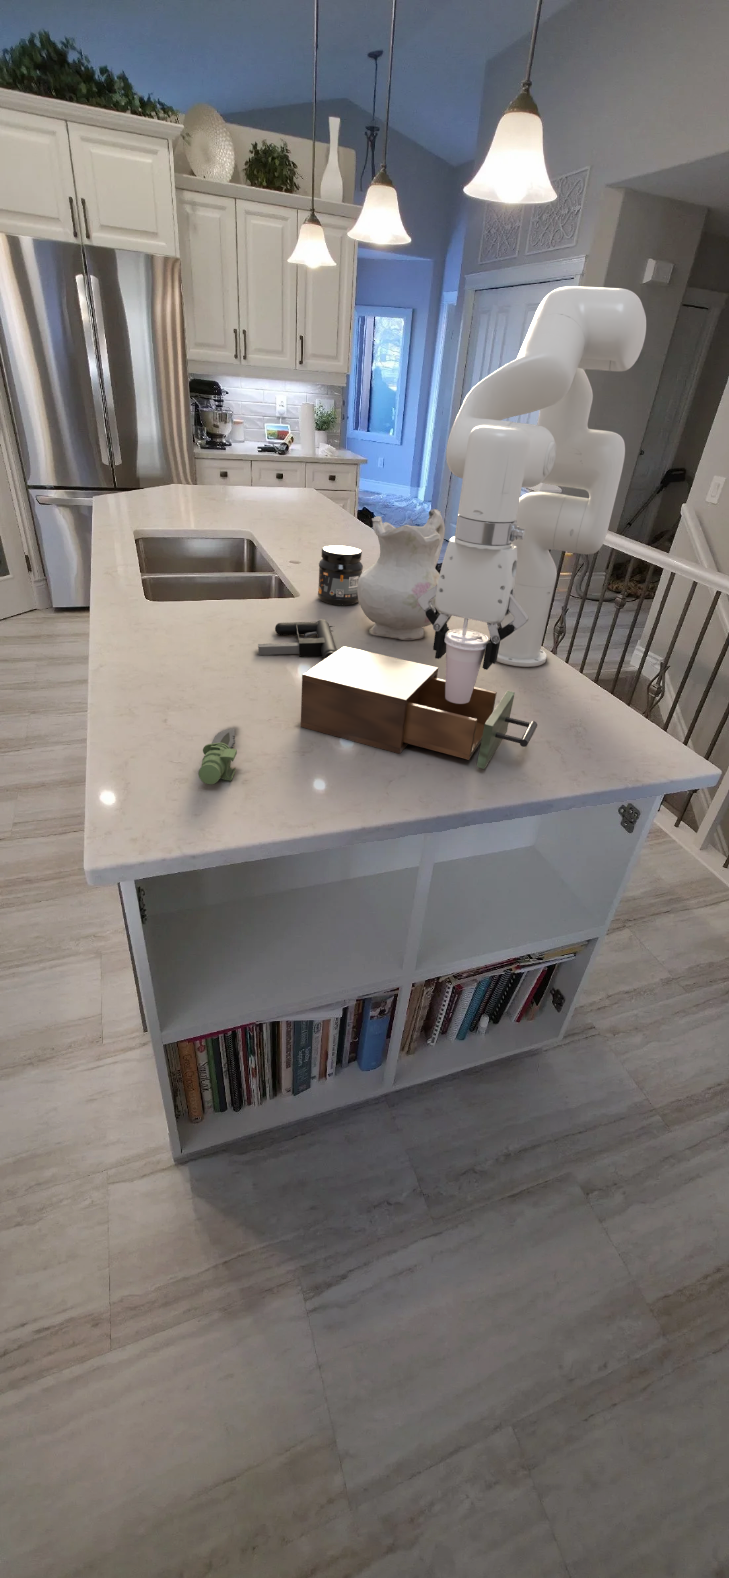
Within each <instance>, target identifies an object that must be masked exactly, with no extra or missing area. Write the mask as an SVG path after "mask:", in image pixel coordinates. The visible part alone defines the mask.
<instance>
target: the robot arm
mask: <svg viewBox="0 0 729 1578" xmlns="http://www.w3.org/2000/svg"><path fill="white" fill-rule="evenodd" d="M646 316H647V315H646V311H645V309H644V306H643V303H642V300H641V299H640V297H639V296H638V295H637V294H636V293H635V292H634V291H632V290H630V289H627V288H623V287H622V288H621V287H600V286H583V285H581V286H579V285H570V286H569V285H567V286H562V287H557V288H555V289H554V290H552V291H550V292H549V293H548V294H546V295H545V296H544V298H543V299H542V300H541V302H540V304H539V305H538V307H537V309H536V311H535V314H534V316H533V318H532V321H531V324H530V326H529V328H528V331H527V333H526V336H525V338H524V340H523V343H522V345H521V347H520V350H519V352H518V354H517V356H516V359H513V360H511V361H510V362H508V363H505V364H504V365H503V366H501V367H499V368H498V369H497V370H494V371H493V372H492V373H490V374H488V375H487V376H486V377H484V378H483V379H481V380H480V381H479V382H478V383H477V384H476V385H474V386H473V387H472V388H471V389H470V391H469V392H468V393H467V394H466V396H465V398H464V400H463V402H462V405H460V409H459V411H458V413H457V415H456V417H455V418H454V419H455V420H454V422H453V425H452V427H451V429H450V433H449V436H448V439H447V443H446V451H445V457H446V465H447V467H448V470H449V472H451V473H452V475H454V476H455V477H457V478H460V479H462V480H461V481H462V482H461V488H460V495H459V496H460V497H459V505H458V509H457V510H458V511H457V517H456V524H455V531H454V535H453V536H452V537H451V538H449V541H448V543H447V546H446V549H445V553H444V556H443V560H442V563H441V567H440V571H439V574H440V576H439V580H438V584H437V585H436V586H435V587H433V588H432V589H430V590H429V591H427V592H426V593H425V594H423V595H422V596H420V597H419V598H418V603H419V605H420V606H421V608H422V609H423V611H425V613H426V616H427V618H428V619H429V621H430V622H431V624H430V625H432V629H433V631H434V638H433V645H432V646H433V647H432V650H433V651H435V655H434V658H435V659H437V660H440V659H442V658H443V657H444V656H445V655H446V643H445V641H444V639H445V634H446V632H448V631H450V628H449V626H448V623H449V621H450V619H451V618H452V617H457V618H461V619H464V618H466V619H468V620H472V621H476V622H481V623H486V626H487V628H488V632H489V641H488V642H487V644H486V649H485V652H484V656H483V660H482V667H481V668H482V669H483V670H485V671H487V670H489V669H490V668H491V666H492V665H493V664H496V662H497V663H501V664H503V665H506V666H507V665H508V666H512V667H520V668H531V667H532V668H533V667H538V666H541V665H544V664H545V663H546V662H547V657H548V654H547V653H546V652H545V651H544V649H542V644H543V640H544V636H545V631H546V626H547V621H548V617H549V613H550V609H551V605H552V604H551V603H552V601H553V600H552V599H553V595H554V591H555V586H556V581H557V577H558V576H557V575H558V572H557V571H558V570H557V566H556V563H555V561H554V559H553V556H552V554H551V552H550V550H552V551H555V550H556V551H560V552H567V553H573V554H580V555H593V554H595V553H597V552H598V551H600V550H601V548H602V547H603V545H604V543H605V540H606V537H607V534H608V530H609V527H610V522H611V518H612V514H613V510H614V506H615V502H616V497H617V494H618V489H619V485H620V482H621V477H622V472H623V468H624V463H625V457H626V444H625V440H624V438H623V436H622V435H620V434H619V433H617V432H615V431H611V430H604V429H603V430H602V429H593V428H589V426H588V424H589V418H590V414H591V413H590V412H591V409H592V404H593V399H594V393H593V389H592V386H591V383H590V380H589V377H588V375H587V373H586V371H585V370H593V371H605V372H606V371H607V372H626V371H628V370H630V369H631V368H632V367H633V366H634V365H635V363H636V362H637V361H638V359H639V357H640V355H641V353H642V350H643V348H644V343H645V340H646V335H647V334H646V333H647V317H646ZM534 412H538V418H537V422H536V424H534V423H527V422H526V423H525V422H516V421H510V420H505V419H509V418H514V417H519V416H522V415H526V414H531V413H534ZM540 484H545V485H550V486H556V487H564V488H569V489H570V488H571V489H578V490H584V491H586V492H587V493H588V497H581V496H574V495H568V494H563V493H556V492H548V491H532V492H527V493H525V494H523V495H522V496H521V494H522V488H533V487H537V486H538V485H540ZM435 596H436V597H435ZM434 597H435V607H436V608H435V607H434V606H433V604H432V602H431V600H432V599H433V598H434ZM438 611H440V612H441V614H440V613H439V612H438Z"/></svg>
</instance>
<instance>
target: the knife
mask: <svg viewBox="0 0 729 1578" xmlns="http://www.w3.org/2000/svg"><path fill="white" fill-rule="evenodd" d="M235 735H236V729H235V728H227V729H223V730H222V731H219V732H218V733H216V734H215V736H214V737H213V739H212V741H211V743H207V744H205V745H204V747H203V748H202V753H203V755H204V757H202V760H201V765H200V769H199V770H198V777H199V780H200V781H201V782H202V783H204V784H205V785H214V784H217V783H218V782H219V780H220V779H221V780H224V781H231V782H232V780H233V778H234V776H235V774H236V767H234V768H232V767H231V762H233V763H234V761H235V758H236V757H237V754H238V749H236V748H234V746H235V744H236V738H235Z"/></svg>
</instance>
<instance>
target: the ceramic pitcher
mask: <svg viewBox="0 0 729 1578" xmlns="http://www.w3.org/2000/svg"><path fill="white" fill-rule="evenodd" d="M441 513H442V511H440V509H438V508H431V509H430V510H429V511H428V519H427V521H426V523H425V524H424V525H423V526H416V525H415V526H414V525H410V524H405V525H401V526H399V527H395V526H394V525H392V524H391V523H389V522H387V521H385V522H383V518H382V516H380V515H379V516H375V517H373V518H371V521H372V528H373V532H374V533H375V535H376V537H377V539H378V544H379V557H378V559H377V561H376V562H375V563H374V564H372V565H371V566H370V567H368V568H366V569H365V570H363V571H362V574H361V575H360V577H359V581H358V586H357V593H358V604H359V606H360V608H361V610H362V612H363V614H364V616H366V617H367V619H369V620H370V621H371V622H373V623H374V625H373V626H372V627H371V628H370V629H369V630H368V631H369V634H370V635H373V636H377V637H386V638H392V639H397V640H401V641H414V640H421V639H424V637H425V636H424V635H425V631H424V629H423V628H425V627H428V626H430V625H432V624H431V622H430V621H429V619H428V618H427V616H426V613H425V611H423V609H422V608H421V606H420V605H419V603H418V598H419V597H420V596H422V595H423V594H425V593H426V592H427V591H429V590H430V589H432V588H433V587H435V586H436V585H437V584H438V580H439V576H440V572H439V571H438V570H437V569H436V566H437V565H438V562H439V560H440V556H441V552H442V548H443V544H444V541H445V533H446V526H445V521H444V518H443V516H442V515H441ZM435 597H436V596H435ZM435 597H434V598H433V599H432V600H431V602H432V604H433V606H434V607H435ZM435 608H436V607H435ZM438 612H439V613H440V614H441V612H440V611H438Z"/></svg>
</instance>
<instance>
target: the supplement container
mask: <svg viewBox="0 0 729 1578" xmlns="http://www.w3.org/2000/svg"><path fill="white" fill-rule="evenodd" d="M320 553H321V559H320V561H319V562H318V587H317V588H318V590H317V597H318V599H319V600H320V601H321V602H323V603H326V604H329V605H333V606H351V605H355V604H357V603H359V601H358V593H357V586H358V581H359V577H360V575H361V574H362V572H363V571H364V565H363V564H362V562H361V561H362V558H363V557H362V555H363V551H362V550H361V549H360V548H357V547H354V546H351V545H344V544H343V545H342V544H331V545H325V546H323V547H322V548H321V551H320Z"/></svg>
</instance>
